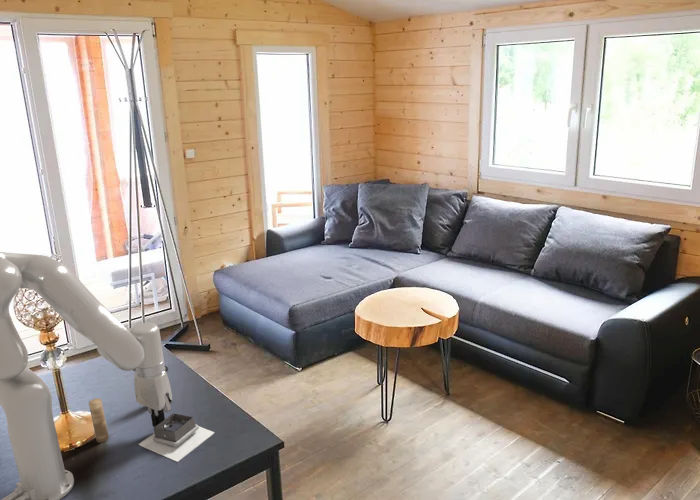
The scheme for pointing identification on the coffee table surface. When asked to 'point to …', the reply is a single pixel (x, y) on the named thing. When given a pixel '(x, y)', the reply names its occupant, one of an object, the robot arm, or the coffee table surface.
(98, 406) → the near oak dowel
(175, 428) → the electrical switch
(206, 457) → the coffee table surface
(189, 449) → the mat
